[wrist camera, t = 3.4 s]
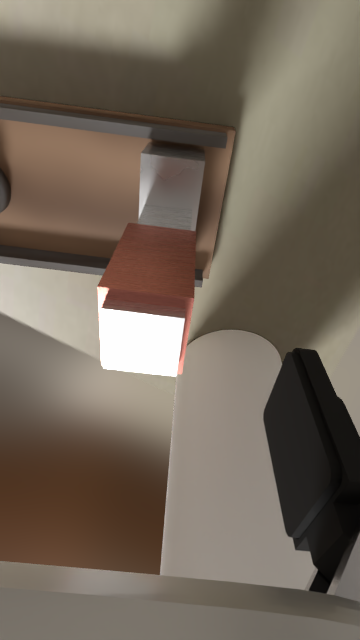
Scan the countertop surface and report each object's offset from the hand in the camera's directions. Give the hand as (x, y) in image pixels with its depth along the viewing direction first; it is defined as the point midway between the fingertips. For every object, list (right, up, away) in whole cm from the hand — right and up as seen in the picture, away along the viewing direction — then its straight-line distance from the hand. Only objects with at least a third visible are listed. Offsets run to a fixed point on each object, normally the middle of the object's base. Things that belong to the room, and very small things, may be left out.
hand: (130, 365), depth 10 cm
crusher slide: (+1, +8, +10) cm, 13 cm away
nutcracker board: (-5, +10, +11) cm, 16 cm away
